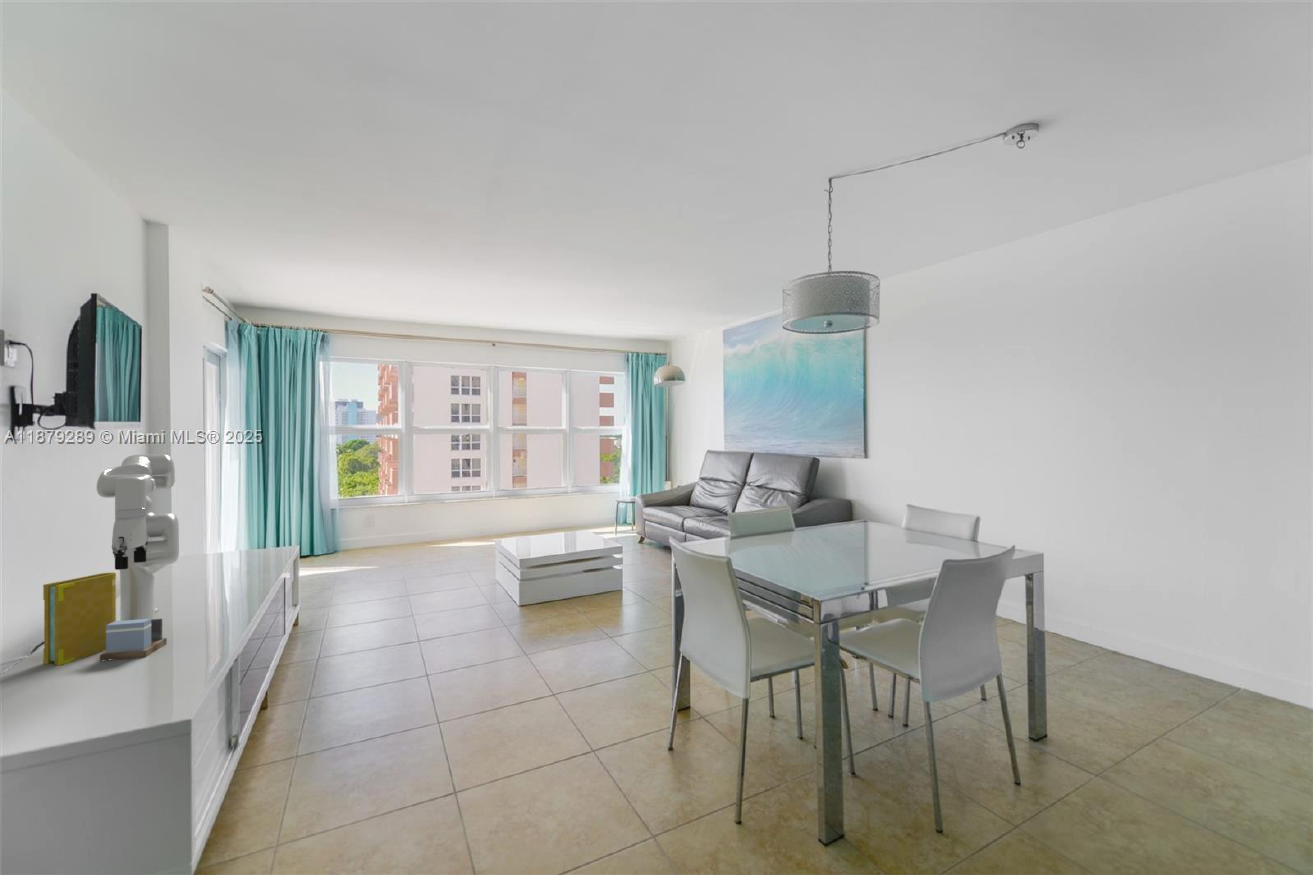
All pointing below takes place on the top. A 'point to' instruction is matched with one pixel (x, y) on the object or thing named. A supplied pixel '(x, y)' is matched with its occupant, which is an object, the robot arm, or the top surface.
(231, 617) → the top surface
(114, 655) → the brown l-shaped piece
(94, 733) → the top surface
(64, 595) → the book
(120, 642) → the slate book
